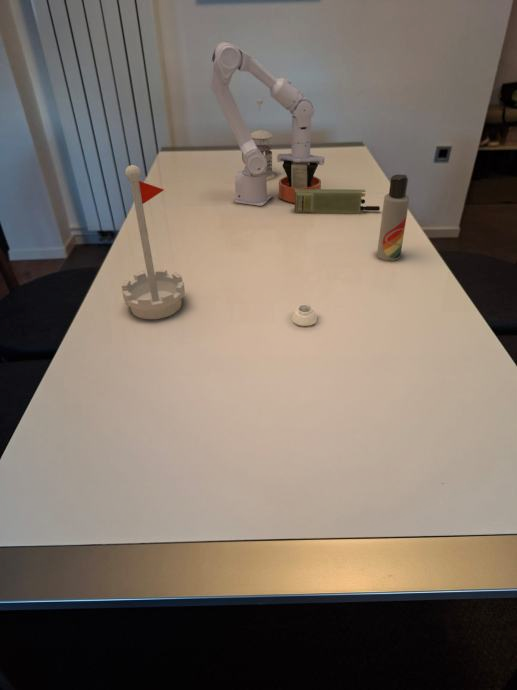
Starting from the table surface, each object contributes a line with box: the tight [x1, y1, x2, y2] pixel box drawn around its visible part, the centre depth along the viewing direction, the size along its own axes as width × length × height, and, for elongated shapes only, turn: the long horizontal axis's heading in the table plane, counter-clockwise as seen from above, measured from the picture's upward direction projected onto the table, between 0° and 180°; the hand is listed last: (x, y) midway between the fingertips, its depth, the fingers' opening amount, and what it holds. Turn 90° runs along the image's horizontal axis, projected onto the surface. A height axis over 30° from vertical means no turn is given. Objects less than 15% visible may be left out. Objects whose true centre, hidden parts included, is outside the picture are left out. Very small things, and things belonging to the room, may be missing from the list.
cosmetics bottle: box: [291, 162, 309, 188], centre depth 156 cm, size 5×4×10 cm
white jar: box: [291, 304, 318, 327], centre depth 101 cm, size 5×3×5 cm
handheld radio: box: [294, 188, 381, 214], centre depth 146 cm, size 7×3×25 cm
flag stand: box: [121, 164, 186, 320], centre depth 99 cm, size 13×13×30 cm
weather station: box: [250, 98, 276, 181], centre depth 170 cm, size 10×12×25 cm
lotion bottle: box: [376, 174, 410, 262], centre depth 118 cm, size 6×6×20 cm
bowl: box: [278, 175, 322, 204], centre depth 157 cm, size 13×13×5 cm
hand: (300, 186), depth 157 cm, fingers closed on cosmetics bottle, 5 cm apart
